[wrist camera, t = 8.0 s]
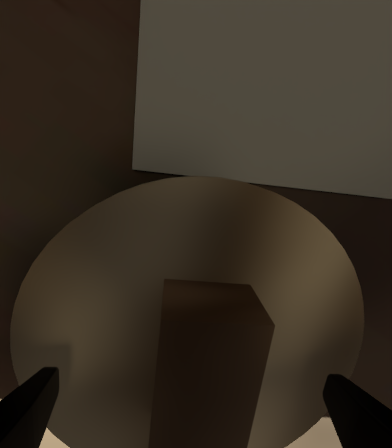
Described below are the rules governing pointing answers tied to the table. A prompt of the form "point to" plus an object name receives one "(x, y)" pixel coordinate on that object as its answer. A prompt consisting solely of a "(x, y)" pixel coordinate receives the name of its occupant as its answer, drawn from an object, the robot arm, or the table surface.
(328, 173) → the mat
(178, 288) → the lid
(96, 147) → the table surface
